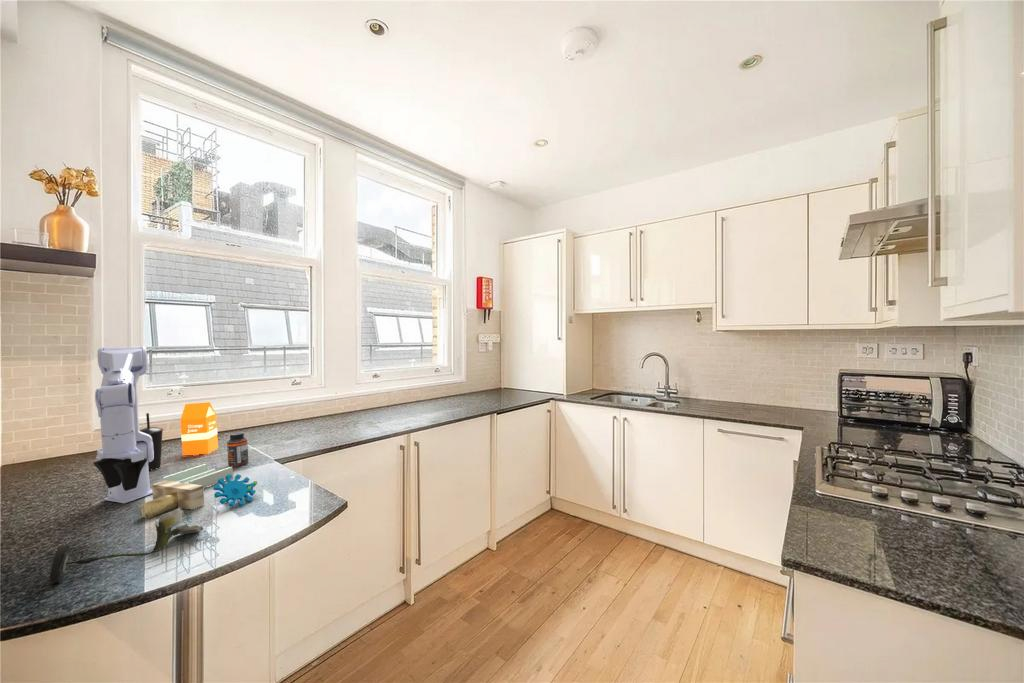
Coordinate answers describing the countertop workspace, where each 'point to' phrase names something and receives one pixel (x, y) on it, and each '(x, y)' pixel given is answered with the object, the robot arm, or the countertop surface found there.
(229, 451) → the supplement bottle
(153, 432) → the drinking cup
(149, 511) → the axle
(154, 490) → the beam
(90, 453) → the countertop surface
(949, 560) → the countertop surface
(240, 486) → the gear
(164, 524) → the artificial flower
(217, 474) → the pale green slotted tray
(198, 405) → the orange juice
